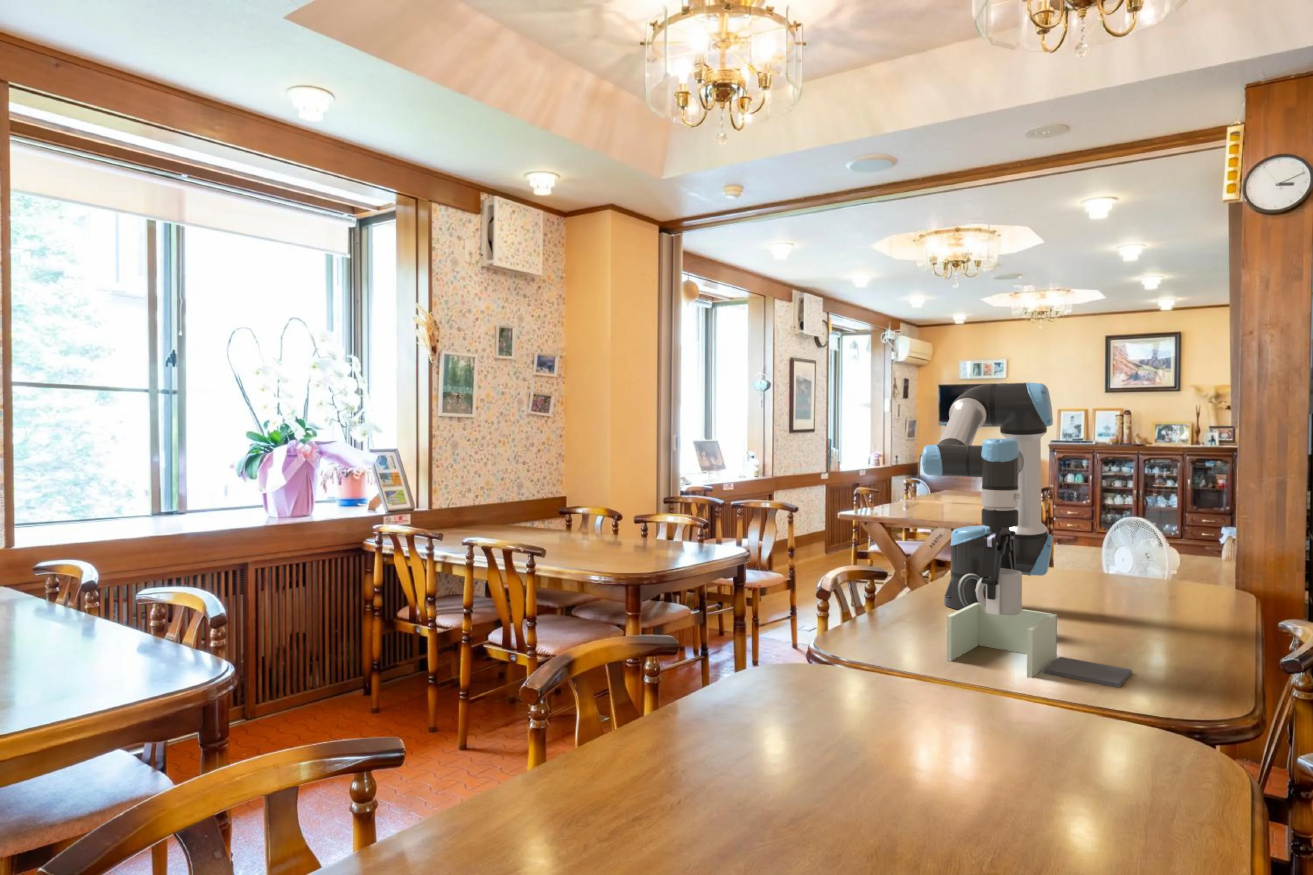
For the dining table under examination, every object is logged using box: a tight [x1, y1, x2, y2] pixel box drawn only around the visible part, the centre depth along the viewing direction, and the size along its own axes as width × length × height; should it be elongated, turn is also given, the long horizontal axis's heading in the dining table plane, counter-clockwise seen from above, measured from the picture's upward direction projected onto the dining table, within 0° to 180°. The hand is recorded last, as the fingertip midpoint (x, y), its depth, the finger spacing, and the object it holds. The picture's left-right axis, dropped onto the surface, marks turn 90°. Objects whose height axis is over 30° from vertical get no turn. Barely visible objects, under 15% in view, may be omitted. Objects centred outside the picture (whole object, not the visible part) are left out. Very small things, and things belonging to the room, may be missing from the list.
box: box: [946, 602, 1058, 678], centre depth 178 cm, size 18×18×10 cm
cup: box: [976, 568, 1023, 615], centre depth 176 cm, size 7×10×9 cm
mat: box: [1043, 656, 1133, 688], centre depth 168 cm, size 14×12×1 cm
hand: (999, 609), depth 176 cm, fingers closed on cup, 8 cm apart
